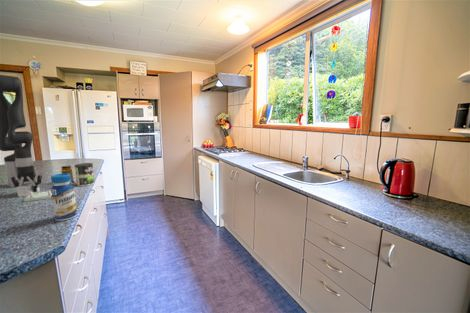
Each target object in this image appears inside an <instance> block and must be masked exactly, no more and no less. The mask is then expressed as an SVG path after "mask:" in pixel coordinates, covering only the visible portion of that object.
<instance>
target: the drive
mask: <svg viewBox="0 0 470 313" xmlns="http://www.w3.org/2000/svg"><path fill="white" fill-rule="evenodd" d="M36 183H37V180H36ZM37 187H38V188H39V190H40V191H41V188H40V184H39V185H37ZM16 191H17V192H16V193H17V197H18V198H22V196H24V197H27V196H29V195H30V192H33V193H37V191H36V192H34V189H33V185H32V183H30V182H27V183H24V184H22V185H20V186H18V187H16Z"/></svg>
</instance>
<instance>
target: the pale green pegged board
mask: <svg viewBox="0 0 470 313" xmlns="http://www.w3.org/2000/svg"><path fill="white" fill-rule="evenodd" d="M36 189H37V192H35V193H33V192H30V195H29V196H25V198H23V202H25V203H26V202H32V201H42V200H52V199H51V196H52V193H51V189H50V190H47V191H41V189H40V190H39V188H36Z"/></svg>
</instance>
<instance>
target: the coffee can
mask: <svg viewBox="0 0 470 313" xmlns="http://www.w3.org/2000/svg"><path fill="white" fill-rule="evenodd" d="M93 166H94V164H93V162H86V163H85V162H84V163H76V164H75V165H74V169H75V170H74V171H75V177H76V181H77V182H76V186H78V187H87V186H91V185H94V184H95V175H94V167H93Z"/></svg>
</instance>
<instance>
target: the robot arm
mask: <svg viewBox="0 0 470 313" xmlns="http://www.w3.org/2000/svg"><path fill="white" fill-rule="evenodd" d="M4 93H12V94H13V93H15V95H14V99H13V102H12V103H11V102H10V101H9V100H8V99H7V97H6V96H5V95H4ZM23 94H24V93H23V84H22V80H21V79H20V77H18V76H13V75H5V74H0V151H1V152H9V151H10V152H13V153H12V154H9V155H6V156H4V157H3V162H4V166H5V171H6V177H7V182H8V183H7V184H8V187H9V188H17V187H18V186H20V185H22V184H24V183H27V182H30V183H32V185H33V189H34V192H35V193H37V192H36V191H37V189H36V188H38V187H37V185H39V186H40V185H41V183H42V178H43V175H42V174H36V173H35V165H34V160H33V155H32V143H33V139H34V136H33V134H32V133H31V132H30V131H27V130H26V131H16V130H18V129H22V128H26V126H27V123H26V117H25V111H24V95H23ZM23 144H24V145H23ZM35 178H36V179H35ZM36 181H37V183H36Z"/></svg>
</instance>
